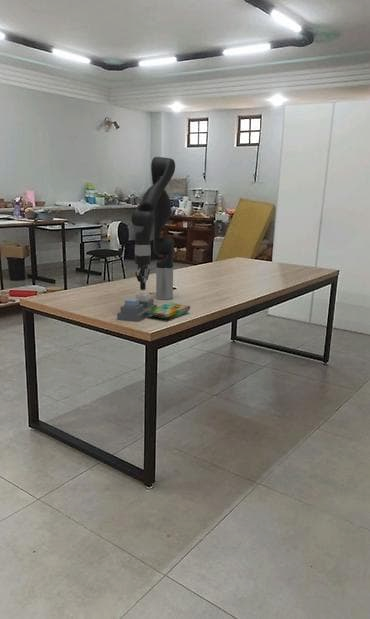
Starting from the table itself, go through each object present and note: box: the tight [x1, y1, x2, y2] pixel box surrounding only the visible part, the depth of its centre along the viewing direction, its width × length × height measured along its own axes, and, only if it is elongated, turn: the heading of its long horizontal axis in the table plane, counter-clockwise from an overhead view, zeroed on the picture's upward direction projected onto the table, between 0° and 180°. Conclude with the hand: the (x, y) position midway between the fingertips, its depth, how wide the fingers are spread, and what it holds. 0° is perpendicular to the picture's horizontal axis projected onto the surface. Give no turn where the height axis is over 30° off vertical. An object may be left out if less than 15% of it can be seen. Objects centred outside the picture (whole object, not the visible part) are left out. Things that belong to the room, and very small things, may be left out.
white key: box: [135, 292, 151, 302], centre depth 230 cm, size 5×5×3 cm
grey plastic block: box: [116, 298, 158, 323], centre depth 225 cm, size 22×11×6 cm, turn 162°
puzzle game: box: [146, 302, 191, 321], centre depth 225 cm, size 12×5×20 cm
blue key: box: [124, 297, 139, 308], centre depth 218 cm, size 5×5×3 cm
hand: (142, 289), depth 229 cm, fingers closed
